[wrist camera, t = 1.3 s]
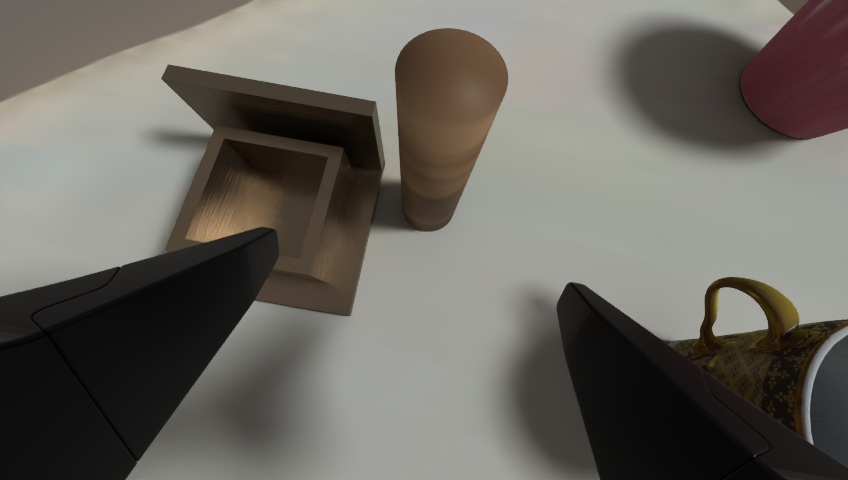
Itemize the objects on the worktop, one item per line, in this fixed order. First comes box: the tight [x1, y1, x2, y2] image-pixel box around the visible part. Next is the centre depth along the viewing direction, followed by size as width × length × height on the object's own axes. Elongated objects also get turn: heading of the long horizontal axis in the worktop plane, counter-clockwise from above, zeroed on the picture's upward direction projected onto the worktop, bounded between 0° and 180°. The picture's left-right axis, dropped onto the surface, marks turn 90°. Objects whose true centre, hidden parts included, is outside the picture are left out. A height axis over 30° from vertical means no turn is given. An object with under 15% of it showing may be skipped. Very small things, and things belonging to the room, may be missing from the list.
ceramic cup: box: [668, 277, 848, 467], centre depth 16 cm, size 13×10×10 cm
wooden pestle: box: [395, 28, 508, 231], centre depth 17 cm, size 4×4×13 cm
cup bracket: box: [161, 65, 385, 316], centre depth 19 cm, size 12×12×7 cm
